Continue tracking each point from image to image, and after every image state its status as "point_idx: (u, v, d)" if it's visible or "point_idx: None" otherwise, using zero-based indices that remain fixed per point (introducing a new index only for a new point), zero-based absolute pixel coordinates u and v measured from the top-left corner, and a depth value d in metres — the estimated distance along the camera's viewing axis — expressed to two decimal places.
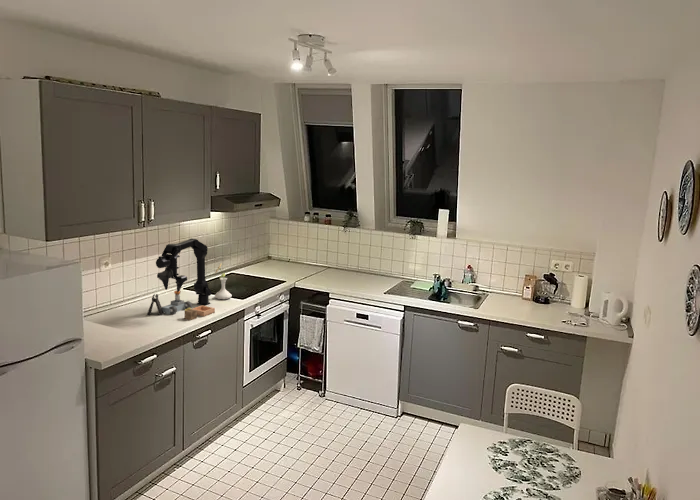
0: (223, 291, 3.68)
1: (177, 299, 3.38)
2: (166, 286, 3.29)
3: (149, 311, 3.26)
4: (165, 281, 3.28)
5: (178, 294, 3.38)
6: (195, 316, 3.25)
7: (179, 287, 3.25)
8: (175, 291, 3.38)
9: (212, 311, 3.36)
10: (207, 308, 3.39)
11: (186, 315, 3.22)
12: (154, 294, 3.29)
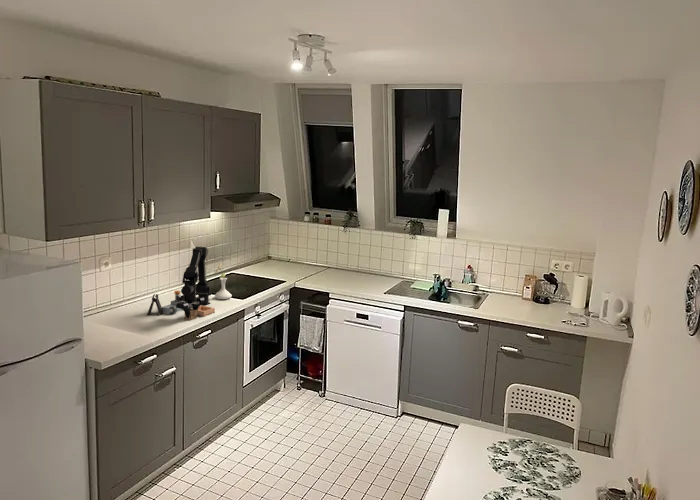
0: (223, 291, 3.68)
1: None
2: None
3: (149, 311, 3.26)
4: (193, 307, 3.26)
5: (178, 294, 3.38)
6: (195, 316, 3.25)
7: (186, 313, 3.20)
8: (175, 291, 3.37)
9: (212, 311, 3.36)
10: (207, 308, 3.39)
11: None
12: (154, 294, 3.29)
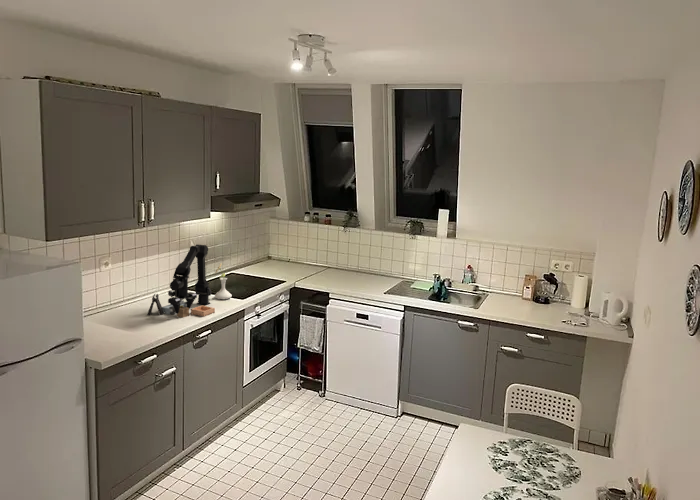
0: (223, 291, 3.68)
1: None
2: (188, 306, 3.32)
3: (149, 311, 3.26)
4: (188, 301, 3.32)
5: None
6: (187, 314, 3.29)
7: (176, 309, 3.22)
8: None
9: (212, 311, 3.36)
10: (207, 308, 3.39)
11: None
12: (154, 294, 3.29)
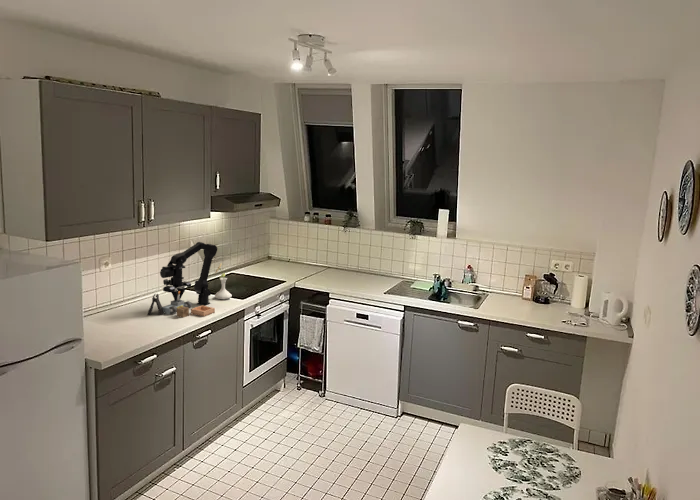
0: (223, 291, 3.68)
1: (177, 299, 3.38)
2: None
3: (149, 311, 3.26)
4: None
5: (178, 294, 3.38)
6: (187, 314, 3.29)
7: (174, 296, 3.36)
8: None
9: (212, 311, 3.36)
10: (207, 308, 3.39)
11: (178, 312, 3.26)
12: (154, 294, 3.29)
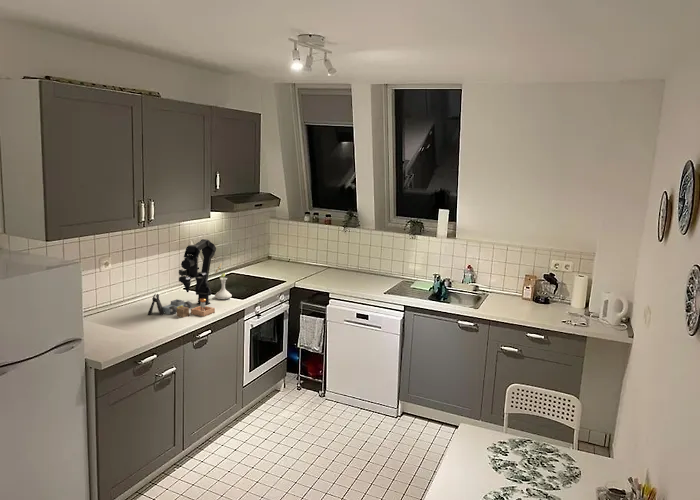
0: (223, 291, 3.68)
1: (203, 307, 3.34)
2: (197, 286, 3.40)
3: (150, 311, 3.26)
4: (197, 281, 3.40)
5: (204, 302, 3.33)
6: (187, 314, 3.29)
7: (186, 287, 3.31)
8: (201, 299, 3.33)
9: (212, 311, 3.36)
10: (207, 308, 3.39)
11: (178, 312, 3.26)
12: (155, 294, 3.29)
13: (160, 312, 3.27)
